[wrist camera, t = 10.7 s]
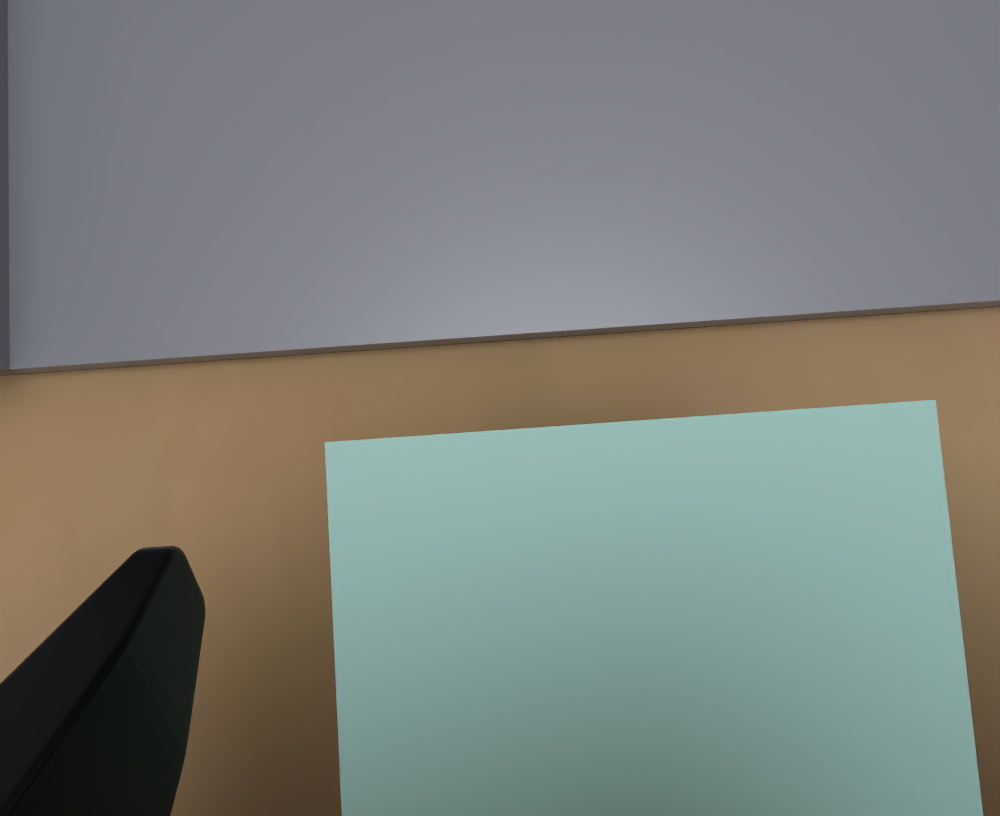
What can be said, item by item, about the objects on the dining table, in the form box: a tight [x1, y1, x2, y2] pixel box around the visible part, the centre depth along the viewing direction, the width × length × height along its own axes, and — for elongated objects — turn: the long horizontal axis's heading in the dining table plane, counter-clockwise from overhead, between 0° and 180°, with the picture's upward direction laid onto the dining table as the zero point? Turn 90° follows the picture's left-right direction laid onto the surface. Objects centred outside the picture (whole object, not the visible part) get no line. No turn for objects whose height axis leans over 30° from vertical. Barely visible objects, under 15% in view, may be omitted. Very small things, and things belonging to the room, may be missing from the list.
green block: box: [325, 400, 983, 816], centre depth 12 cm, size 5×5×10 cm
